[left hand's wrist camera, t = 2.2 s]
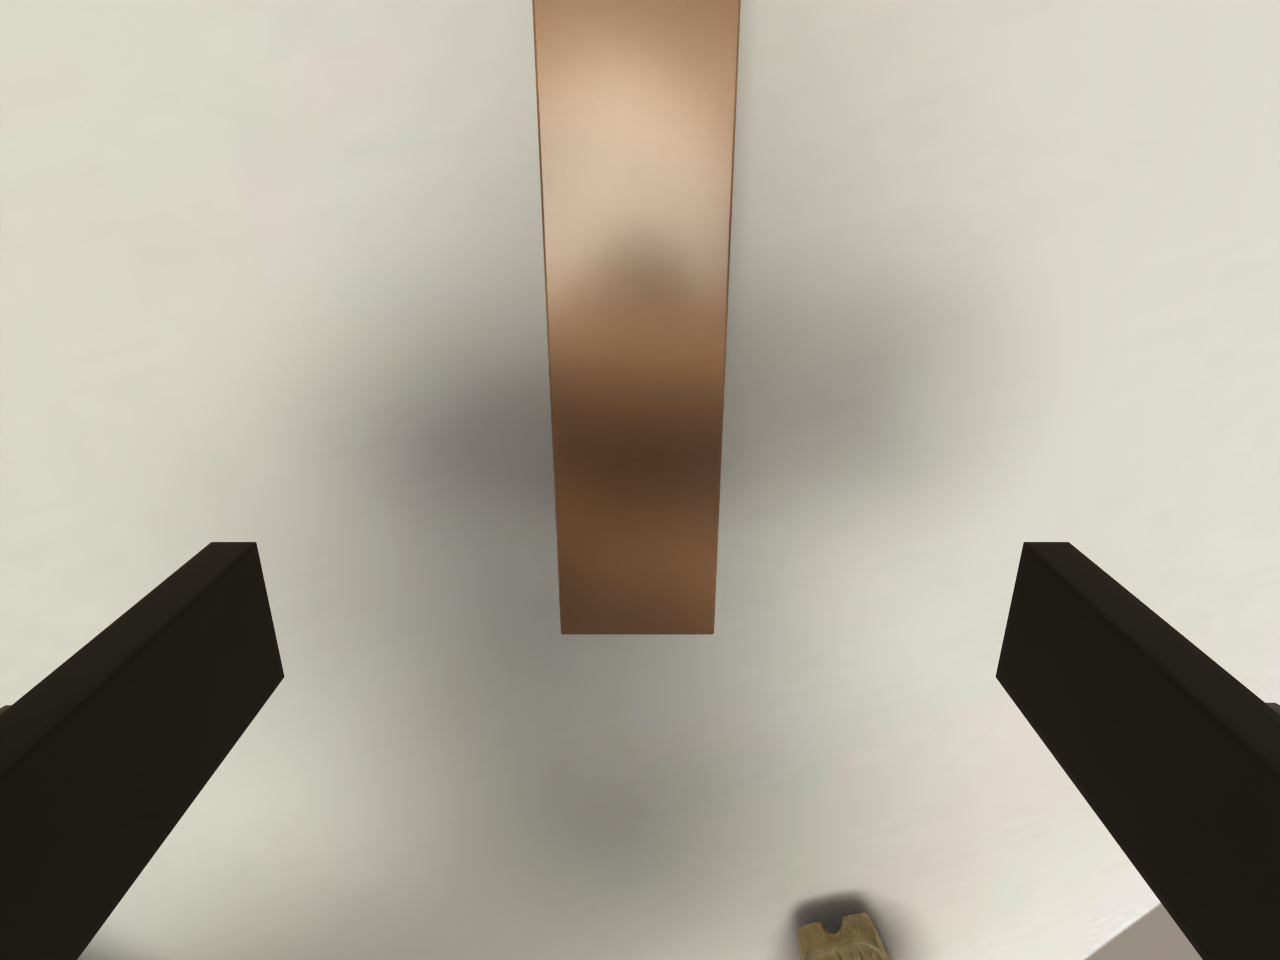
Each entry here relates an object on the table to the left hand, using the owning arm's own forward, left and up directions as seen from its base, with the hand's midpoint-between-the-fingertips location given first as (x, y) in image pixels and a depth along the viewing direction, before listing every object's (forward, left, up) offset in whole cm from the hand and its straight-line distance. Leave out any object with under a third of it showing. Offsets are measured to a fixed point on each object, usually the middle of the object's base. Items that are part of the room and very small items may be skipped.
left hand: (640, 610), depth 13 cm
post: (+20, +15, -14) cm, 29 cm away
